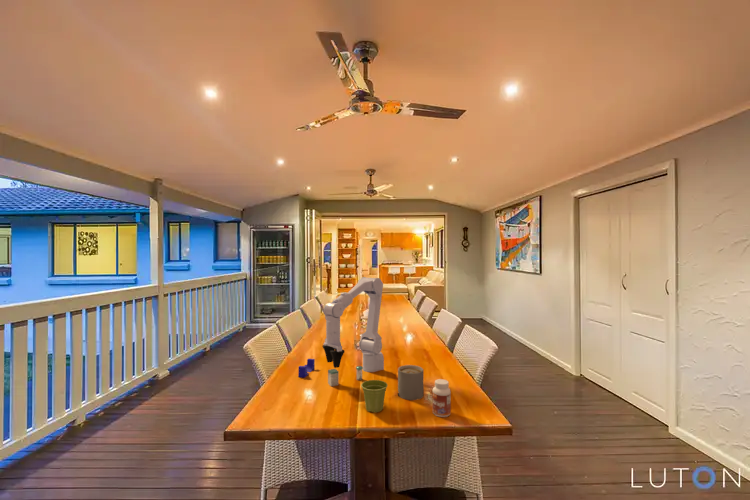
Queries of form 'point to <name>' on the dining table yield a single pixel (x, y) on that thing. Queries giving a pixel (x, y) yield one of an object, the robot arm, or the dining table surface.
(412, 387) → the coffee mug
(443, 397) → the pill bottle
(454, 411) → the dining table surface
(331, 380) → the leg
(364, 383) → the plant pot
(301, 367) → the cable clip
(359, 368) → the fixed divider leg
